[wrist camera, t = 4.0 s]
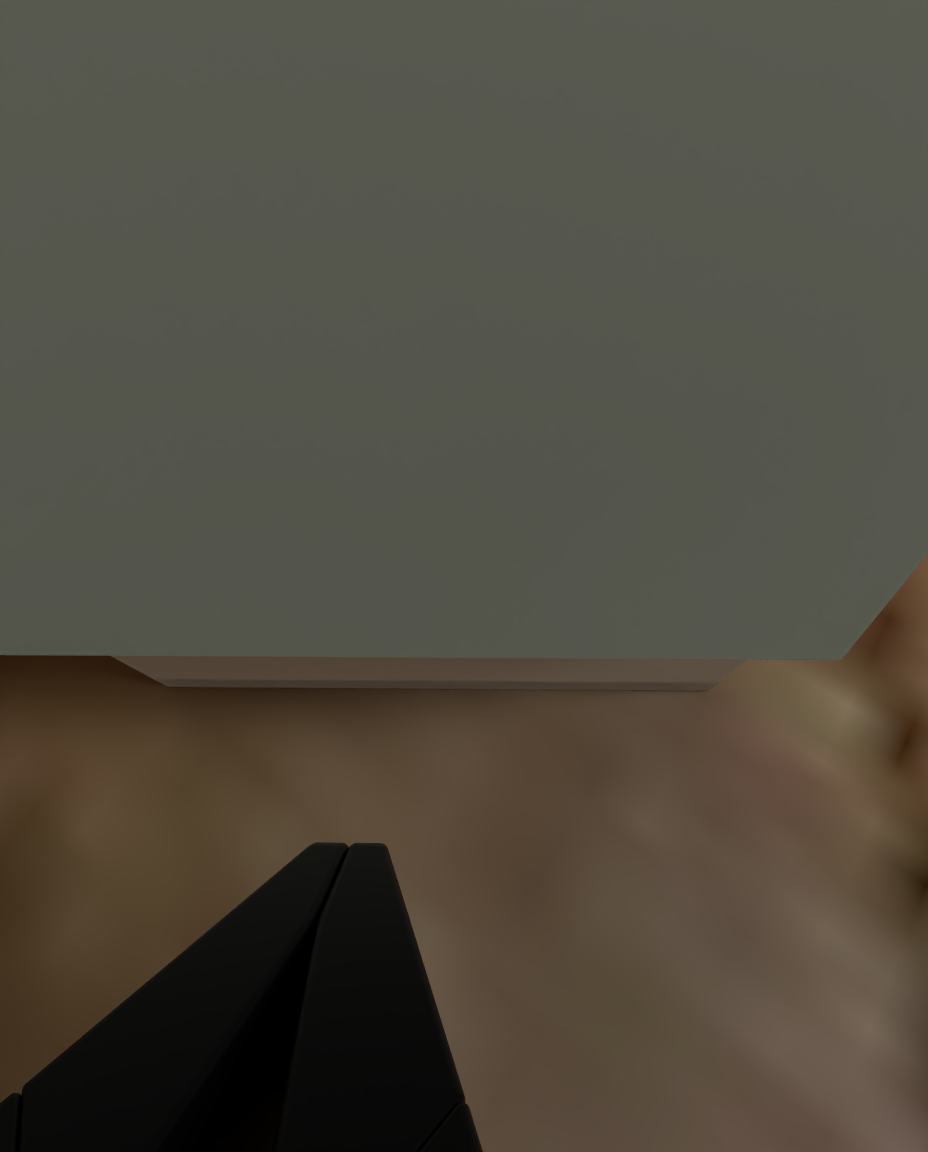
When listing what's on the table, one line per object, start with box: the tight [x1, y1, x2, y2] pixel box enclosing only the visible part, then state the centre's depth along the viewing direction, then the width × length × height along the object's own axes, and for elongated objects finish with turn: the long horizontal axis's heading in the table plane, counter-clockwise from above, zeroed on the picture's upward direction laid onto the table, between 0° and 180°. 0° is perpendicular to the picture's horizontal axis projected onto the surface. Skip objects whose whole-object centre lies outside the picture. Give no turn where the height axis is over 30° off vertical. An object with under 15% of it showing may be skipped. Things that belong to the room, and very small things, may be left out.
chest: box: [112, 656, 749, 691], centre depth 20 cm, size 12×16×7 cm
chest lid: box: [0, 0, 928, 660], centre depth 9 cm, size 12×16×1 cm
